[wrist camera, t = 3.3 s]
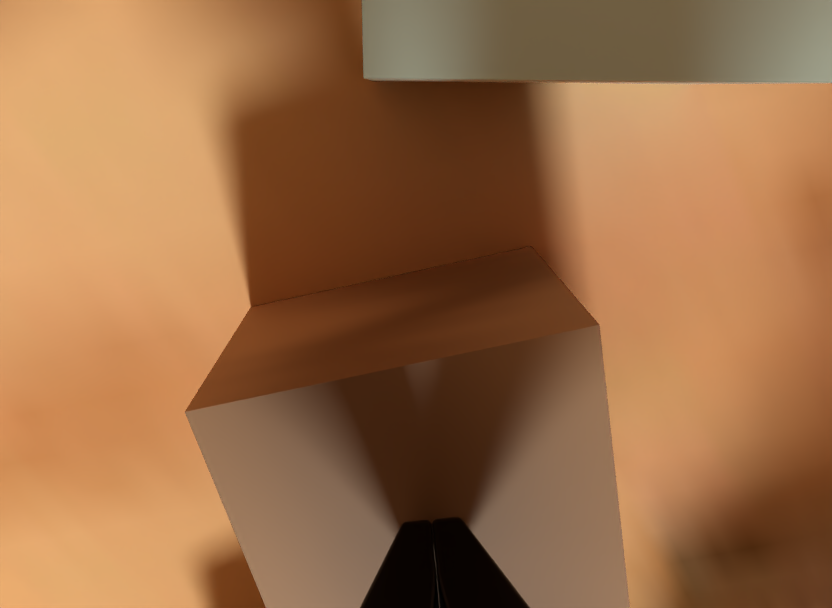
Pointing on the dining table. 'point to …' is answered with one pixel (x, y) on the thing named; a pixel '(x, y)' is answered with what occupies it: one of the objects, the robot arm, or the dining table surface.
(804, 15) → the grey-green block
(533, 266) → the walnut block
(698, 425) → the dining table surface
